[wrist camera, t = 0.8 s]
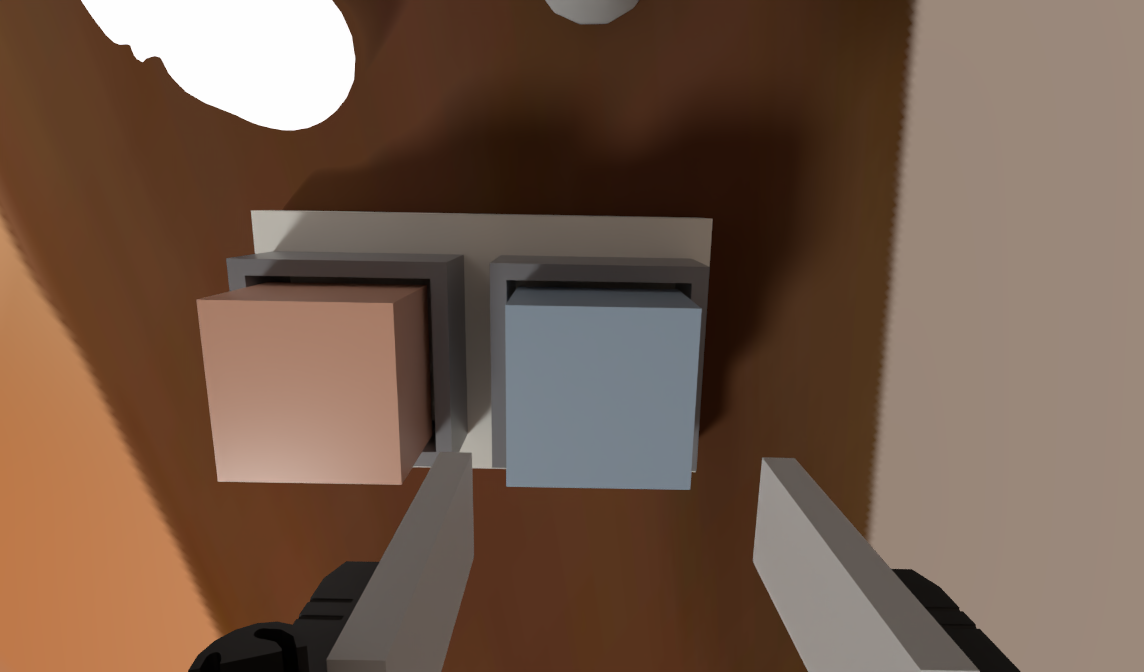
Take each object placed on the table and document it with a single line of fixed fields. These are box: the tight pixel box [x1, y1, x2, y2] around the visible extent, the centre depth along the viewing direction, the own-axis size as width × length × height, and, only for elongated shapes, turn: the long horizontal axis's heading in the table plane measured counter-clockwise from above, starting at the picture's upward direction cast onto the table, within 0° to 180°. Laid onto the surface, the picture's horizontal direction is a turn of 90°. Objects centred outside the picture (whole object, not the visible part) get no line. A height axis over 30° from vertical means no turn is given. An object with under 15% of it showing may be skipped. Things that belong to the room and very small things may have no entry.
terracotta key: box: [197, 282, 432, 485], centre depth 24 cm, size 7×7×5 cm
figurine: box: [81, 0, 355, 130], centre depth 24 cm, size 7×7×12 cm
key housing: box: [226, 210, 713, 472], centre depth 29 cm, size 13×22×7 cm, turn 89°
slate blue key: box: [505, 287, 702, 490], centre depth 24 cm, size 7×7×5 cm
